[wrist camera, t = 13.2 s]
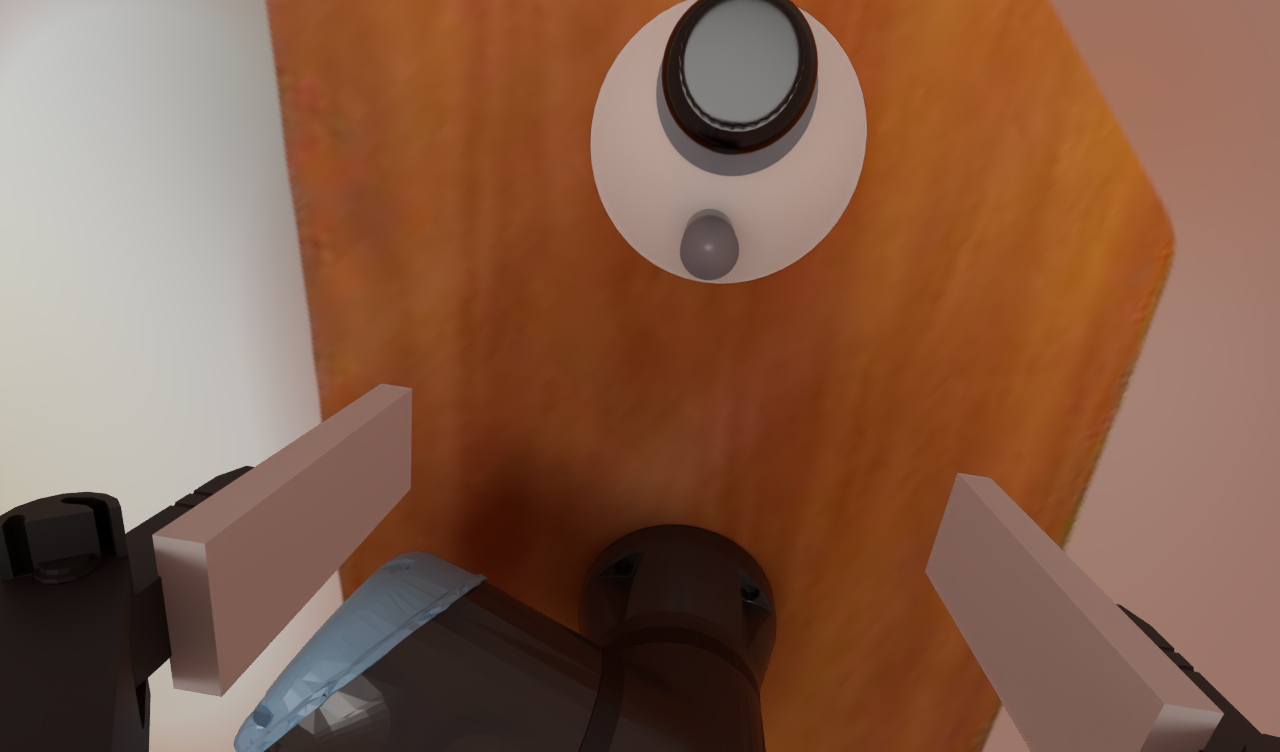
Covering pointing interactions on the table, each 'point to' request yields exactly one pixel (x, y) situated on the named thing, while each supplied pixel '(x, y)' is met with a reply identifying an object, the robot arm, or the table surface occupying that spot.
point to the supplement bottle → (739, 73)
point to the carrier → (723, 169)
